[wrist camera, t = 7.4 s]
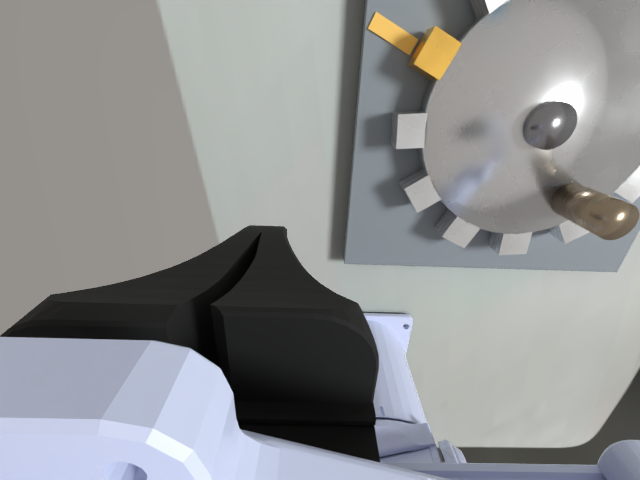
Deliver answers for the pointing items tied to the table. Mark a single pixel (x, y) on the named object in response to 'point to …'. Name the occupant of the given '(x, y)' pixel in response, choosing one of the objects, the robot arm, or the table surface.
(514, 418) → the table surface
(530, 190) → the sprocket
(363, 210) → the base plate
